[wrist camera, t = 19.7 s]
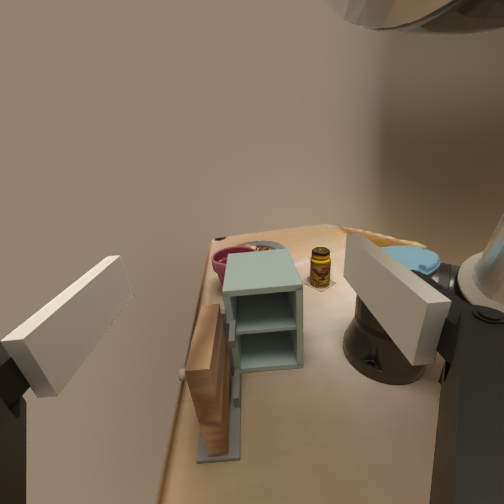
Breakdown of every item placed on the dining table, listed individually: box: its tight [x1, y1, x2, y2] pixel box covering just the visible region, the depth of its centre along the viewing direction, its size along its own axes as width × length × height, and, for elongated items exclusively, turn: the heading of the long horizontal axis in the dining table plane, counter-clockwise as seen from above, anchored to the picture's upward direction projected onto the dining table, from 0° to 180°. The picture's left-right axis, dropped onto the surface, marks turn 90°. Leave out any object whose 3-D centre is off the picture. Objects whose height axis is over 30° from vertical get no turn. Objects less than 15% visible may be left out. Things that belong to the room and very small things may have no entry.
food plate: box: [237, 241, 285, 251], centre depth 102 cm, size 25×23×4 cm
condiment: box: [302, 247, 336, 291], centre depth 76 cm, size 7×8×12 cm
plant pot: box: [212, 246, 256, 286], centre depth 76 cm, size 14×14×13 cm
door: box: [179, 304, 232, 457], centre depth 38 cm, size 4×13×18 cm, turn 2°
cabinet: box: [191, 248, 303, 464], centre depth 46 cm, size 20×31×20 cm, turn 2°
